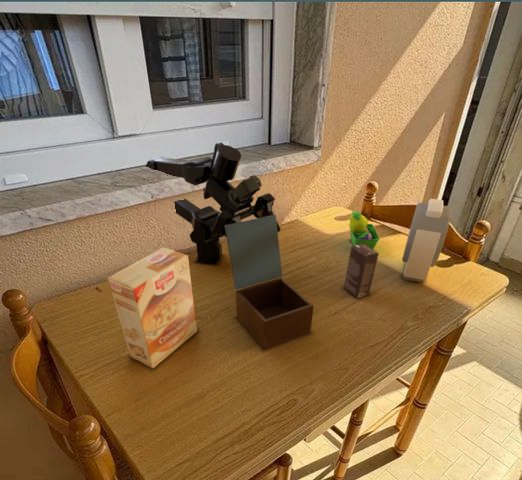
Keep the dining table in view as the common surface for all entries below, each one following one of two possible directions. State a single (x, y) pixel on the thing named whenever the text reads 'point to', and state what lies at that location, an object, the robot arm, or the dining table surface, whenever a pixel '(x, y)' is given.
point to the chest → (274, 312)
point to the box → (360, 270)
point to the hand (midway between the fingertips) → (268, 236)
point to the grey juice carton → (425, 239)
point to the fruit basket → (362, 231)
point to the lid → (254, 251)
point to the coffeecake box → (155, 305)
